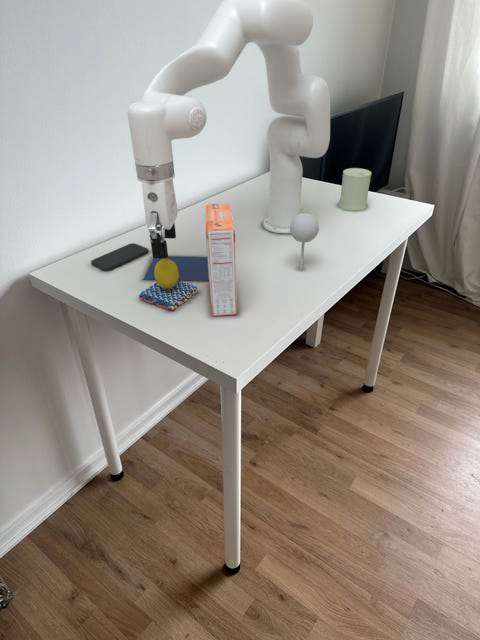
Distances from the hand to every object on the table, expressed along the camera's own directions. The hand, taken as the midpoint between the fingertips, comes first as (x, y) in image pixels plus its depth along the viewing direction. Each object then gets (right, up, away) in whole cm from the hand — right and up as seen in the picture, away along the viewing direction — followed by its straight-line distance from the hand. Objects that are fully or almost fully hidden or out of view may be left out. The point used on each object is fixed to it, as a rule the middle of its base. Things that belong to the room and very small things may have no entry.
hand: (165, 247), depth 100 cm
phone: (-16, +1, +23) cm, 28 cm away
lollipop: (+33, -3, +18) cm, 37 cm away
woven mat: (0, -11, +7) cm, 13 cm away
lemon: (0, -9, +6) cm, 11 cm away
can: (+55, +23, +54) cm, 81 cm away
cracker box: (+13, -12, +6) cm, 18 cm away
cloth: (+2, -3, +18) cm, 19 cm away
